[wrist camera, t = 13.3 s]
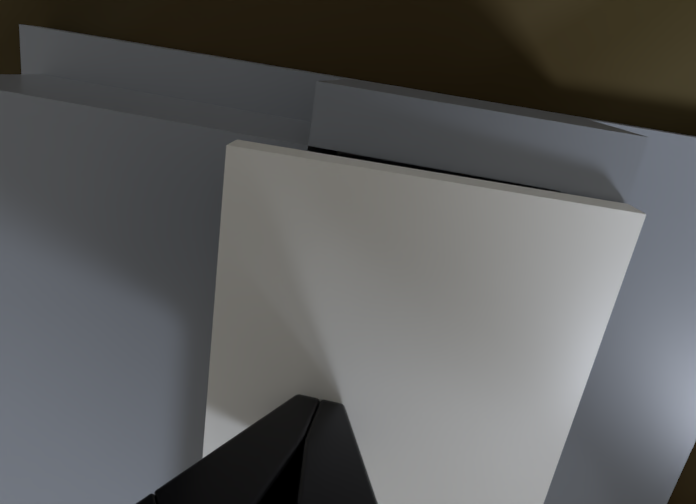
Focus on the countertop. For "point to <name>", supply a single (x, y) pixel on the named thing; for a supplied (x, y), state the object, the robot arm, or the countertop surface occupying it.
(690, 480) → the countertop surface
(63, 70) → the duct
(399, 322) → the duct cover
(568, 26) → the countertop surface
